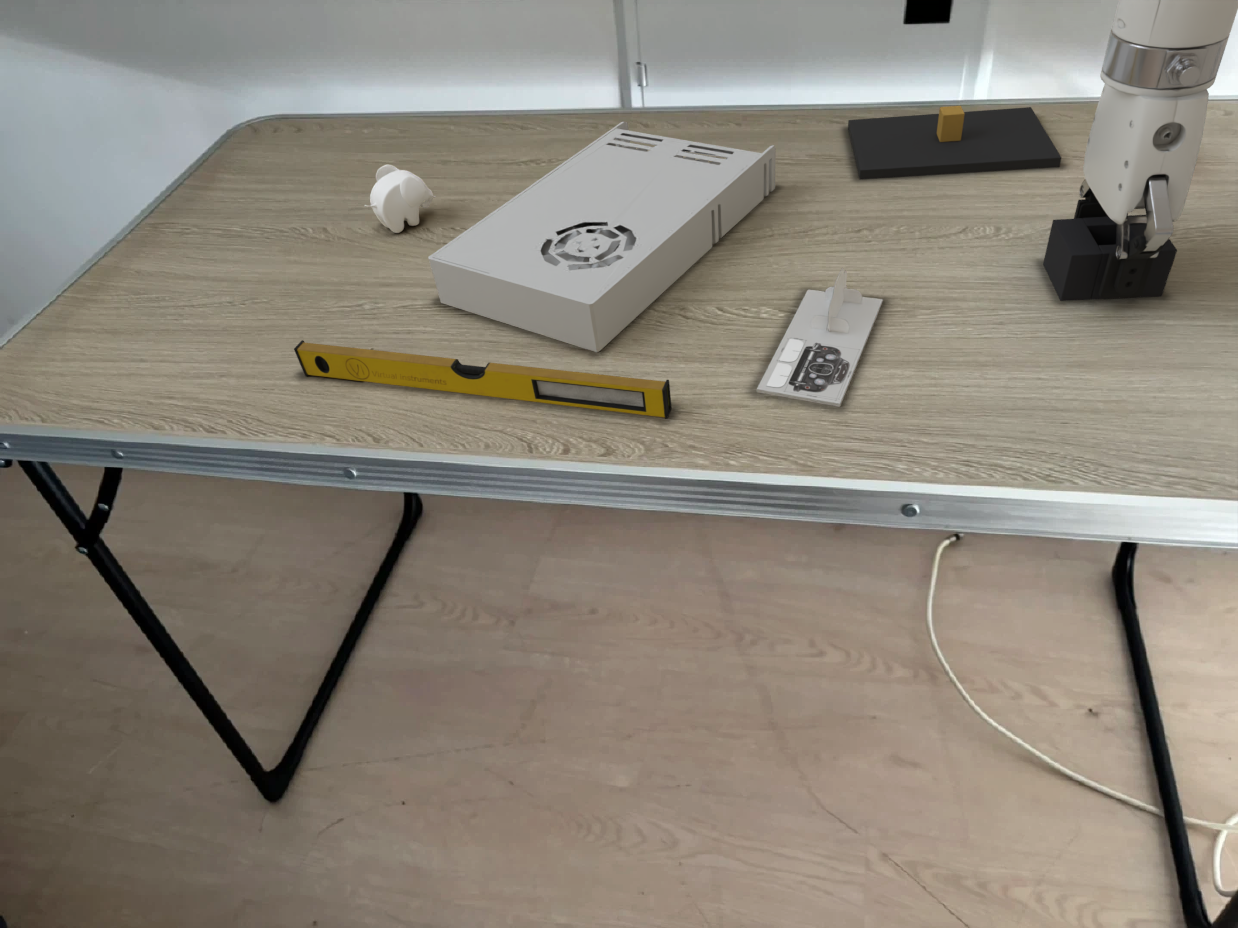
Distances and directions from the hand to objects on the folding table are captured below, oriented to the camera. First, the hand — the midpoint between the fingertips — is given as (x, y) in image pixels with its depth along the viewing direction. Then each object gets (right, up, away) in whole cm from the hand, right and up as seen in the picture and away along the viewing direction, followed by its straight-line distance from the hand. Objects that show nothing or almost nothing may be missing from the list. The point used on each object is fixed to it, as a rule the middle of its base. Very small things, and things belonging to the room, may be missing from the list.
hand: (1103, 267), depth 79 cm
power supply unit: (-41, +5, +15) cm, 44 cm away
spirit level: (-53, -11, -1) cm, 54 cm away
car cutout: (-24, -7, -2) cm, 25 cm away
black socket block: (0, -1, +1) cm, 1 cm away
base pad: (-5, +18, +22) cm, 29 cm away
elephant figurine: (-65, +10, +23) cm, 69 cm away
